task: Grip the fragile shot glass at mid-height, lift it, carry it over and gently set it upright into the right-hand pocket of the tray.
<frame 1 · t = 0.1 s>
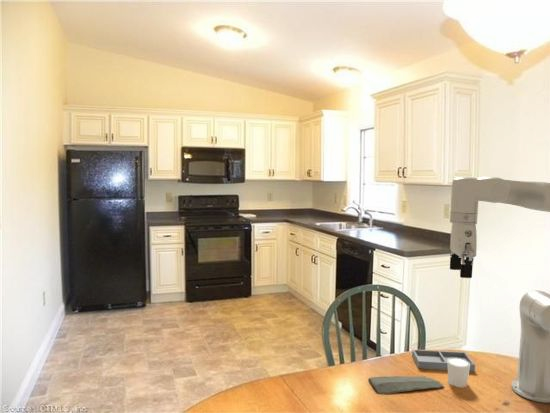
hand: (460, 273, 128), 37 cm above the table, tool pointing down, fingers open, 9 cm apart
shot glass: (457, 383, 134), on the table
tray: (442, 363, 148), on the table
stone slab: (405, 386, 133), on the table
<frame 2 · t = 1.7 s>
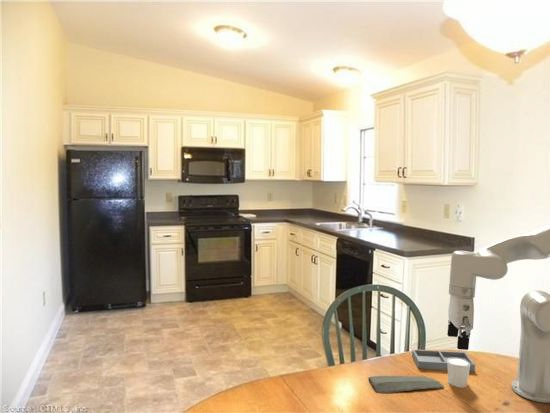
hand: (457, 342, 133), 13 cm above the table, tool pointing down, fingers open, 9 cm apart
nothing on the table moved.
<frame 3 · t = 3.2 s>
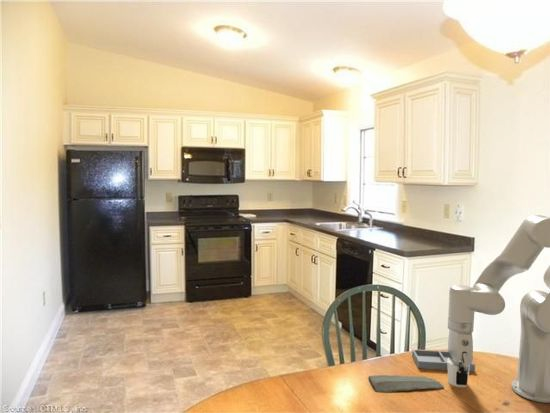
hand: (457, 378, 134), 2 cm above the table, tool pointing down, fingers closed on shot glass, 6 cm apart
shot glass: (457, 383, 134), on the table, touching gripper
everything else where it was.
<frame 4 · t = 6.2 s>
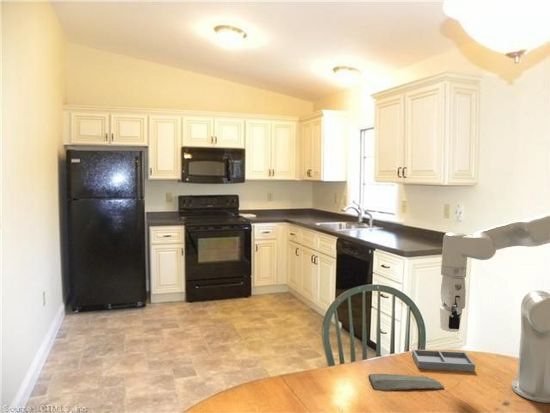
hand: (449, 323, 137), 18 cm above the table, tool pointing down, fingers closed on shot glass, 6 cm apart
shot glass: (449, 329, 137), point 16 cm above the table, touching gripper
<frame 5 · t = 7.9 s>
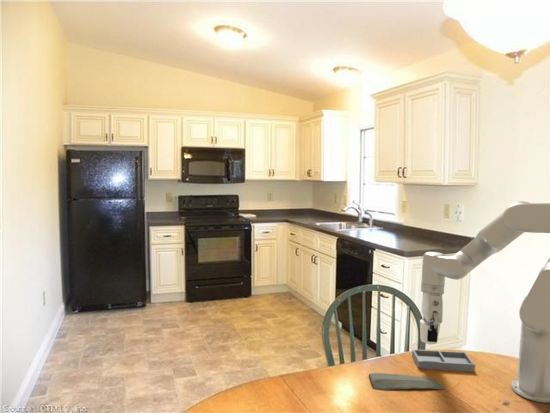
hand: (429, 336, 147), 9 cm above the table, tool pointing down, fingers closed on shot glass, 6 cm apart
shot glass: (428, 341, 147), point 8 cm above the table, touching gripper
when the fingers open (4 cm above the table, at t = 9.3 s): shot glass drops 1 cm, resting on tray.
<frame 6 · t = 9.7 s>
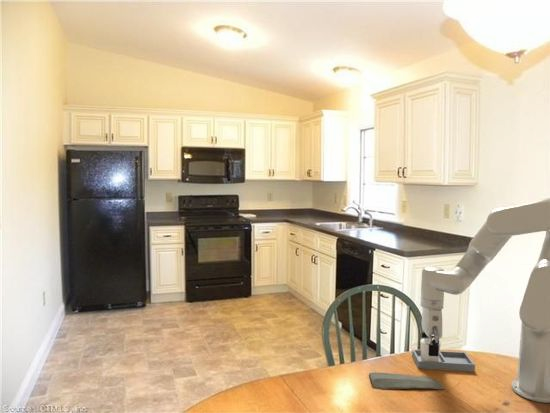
hand: (429, 349, 148), 5 cm above the table, tool pointing down, fingers open, 9 cm apart
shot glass: (429, 360, 148), point 1 cm above the table, touching tray
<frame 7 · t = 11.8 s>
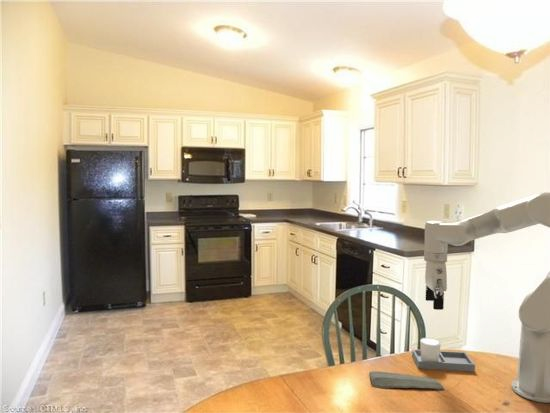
hand: (434, 304, 146), 21 cm above the table, tool pointing down, fingers open, 9 cm apart
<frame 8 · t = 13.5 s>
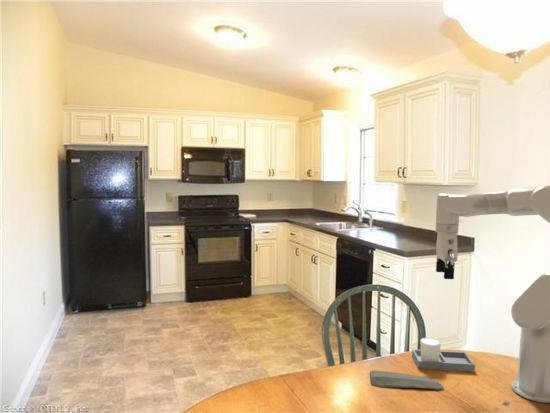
hand: (444, 275, 150), 30 cm above the table, tool pointing down, fingers open, 9 cm apart
at the end: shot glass 0.3 cm from the target spot on the tray, point 0.8 cm above the tray's base; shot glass tilted 0°; the gripper is holding nothing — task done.
